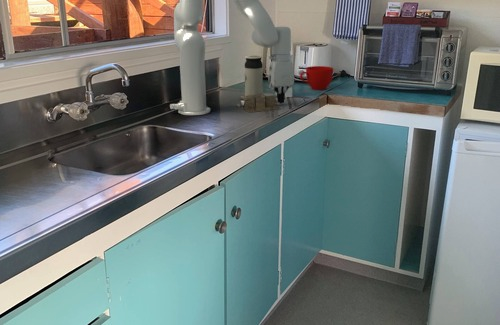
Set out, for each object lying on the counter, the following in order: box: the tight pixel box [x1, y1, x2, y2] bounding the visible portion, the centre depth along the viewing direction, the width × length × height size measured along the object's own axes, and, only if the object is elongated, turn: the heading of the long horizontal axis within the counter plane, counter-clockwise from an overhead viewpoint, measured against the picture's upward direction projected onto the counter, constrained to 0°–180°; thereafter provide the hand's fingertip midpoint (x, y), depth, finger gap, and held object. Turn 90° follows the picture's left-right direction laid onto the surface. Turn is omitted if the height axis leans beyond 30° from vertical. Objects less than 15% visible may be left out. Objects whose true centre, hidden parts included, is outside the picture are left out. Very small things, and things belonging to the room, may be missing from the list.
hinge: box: [235, 92, 281, 114], centre depth 206 cm, size 14×13×5 cm
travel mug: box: [244, 54, 264, 96], centre depth 225 cm, size 8×8×18 cm
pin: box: [239, 96, 279, 106], centre depth 206 cm, size 16×3×3 cm, turn 115°
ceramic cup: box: [299, 65, 334, 91], centre depth 242 cm, size 13×17×10 cm
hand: (280, 102), depth 211 cm, fingers closed
